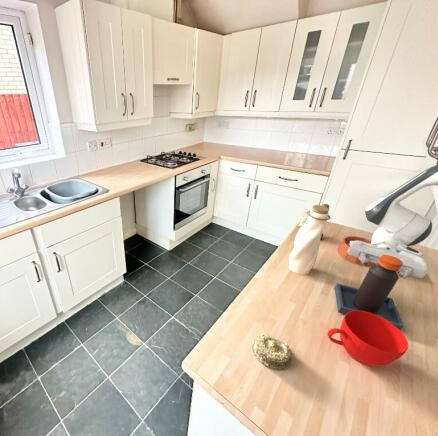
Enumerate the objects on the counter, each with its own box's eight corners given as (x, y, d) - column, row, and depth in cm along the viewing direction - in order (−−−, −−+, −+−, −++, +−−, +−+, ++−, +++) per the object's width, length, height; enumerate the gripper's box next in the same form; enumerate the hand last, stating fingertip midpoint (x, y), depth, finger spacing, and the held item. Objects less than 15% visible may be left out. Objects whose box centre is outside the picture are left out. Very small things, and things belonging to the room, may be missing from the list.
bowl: (374, 252, 109) (380, 241, 106) (381, 270, 98) (388, 258, 95) (336, 243, 115) (341, 233, 112) (340, 260, 104) (345, 248, 101)
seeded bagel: (289, 379, 63) (294, 368, 60) (249, 360, 68) (252, 349, 65) (292, 346, 70) (297, 335, 67) (255, 331, 75) (258, 320, 72)
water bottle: (279, 262, 103) (297, 203, 90) (294, 258, 106) (314, 199, 93) (300, 278, 95) (323, 215, 82) (316, 272, 98) (341, 211, 84)
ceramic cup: (309, 329, 75) (319, 307, 70) (368, 334, 73) (383, 311, 69) (332, 372, 64) (347, 349, 59) (403, 379, 62) (423, 356, 57)
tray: (388, 303, 83) (392, 298, 82) (400, 332, 74) (404, 326, 73) (334, 288, 90) (336, 282, 89) (338, 312, 81) (341, 307, 79)
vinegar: (378, 306, 82) (408, 259, 72) (375, 318, 78) (406, 270, 68) (354, 295, 86) (378, 250, 76) (349, 306, 82) (375, 259, 72)
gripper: (353, 233, 93) (347, 248, 85) (429, 254, 81) (432, 275, 72) (347, 246, 96) (341, 262, 88) (419, 269, 84) (421, 291, 75)
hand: (382, 268), depth 80 cm, fingers open, 8 cm apart
